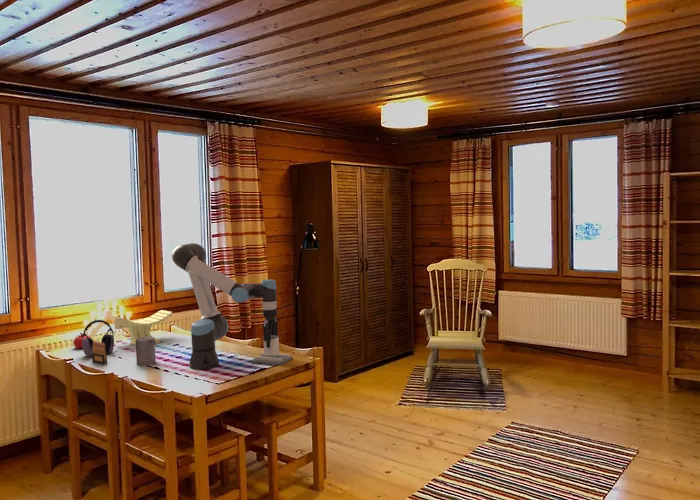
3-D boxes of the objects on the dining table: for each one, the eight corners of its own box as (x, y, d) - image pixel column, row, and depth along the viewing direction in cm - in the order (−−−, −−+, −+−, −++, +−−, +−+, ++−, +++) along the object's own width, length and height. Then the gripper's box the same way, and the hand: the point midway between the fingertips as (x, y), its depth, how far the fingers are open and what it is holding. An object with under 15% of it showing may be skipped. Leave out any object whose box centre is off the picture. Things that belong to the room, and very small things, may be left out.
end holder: (280, 365, 300) (280, 360, 300) (250, 362, 307) (250, 357, 306) (292, 358, 313) (292, 353, 313) (263, 356, 320) (263, 351, 320)
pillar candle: (136, 362, 315) (134, 335, 313) (155, 359, 318) (153, 333, 317) (137, 366, 306) (135, 338, 304) (156, 364, 309) (155, 336, 308)
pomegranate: (93, 347, 352) (92, 332, 351) (75, 350, 346) (74, 335, 345) (90, 345, 360) (89, 330, 359) (72, 347, 354) (71, 332, 354)
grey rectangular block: (275, 355, 307) (275, 336, 306) (264, 354, 309) (263, 336, 308) (279, 353, 310) (278, 335, 310) (267, 352, 313) (266, 334, 312)
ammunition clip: (92, 362, 318) (91, 340, 317) (95, 361, 319) (94, 339, 318) (104, 364, 312) (103, 342, 311) (107, 363, 313) (106, 341, 312)
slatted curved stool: (160, 336, 379) (159, 309, 377) (173, 339, 368) (172, 311, 367) (115, 345, 357) (114, 316, 356) (128, 349, 346) (126, 319, 345)
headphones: (116, 352, 337) (114, 318, 336) (87, 358, 325) (85, 323, 324) (109, 350, 344) (107, 317, 342) (80, 356, 332) (78, 321, 330)
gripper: (268, 311, 299) (270, 356, 300) (283, 306, 315) (285, 348, 316) (255, 311, 301) (257, 355, 303) (271, 305, 317) (272, 348, 319)
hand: (271, 352), depth 310 cm, fingers closed on grey rectangular block, 4 cm apart
